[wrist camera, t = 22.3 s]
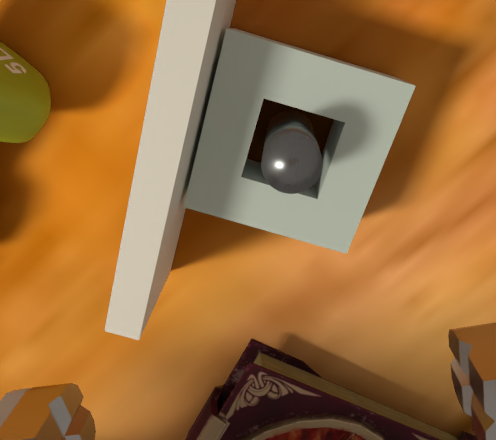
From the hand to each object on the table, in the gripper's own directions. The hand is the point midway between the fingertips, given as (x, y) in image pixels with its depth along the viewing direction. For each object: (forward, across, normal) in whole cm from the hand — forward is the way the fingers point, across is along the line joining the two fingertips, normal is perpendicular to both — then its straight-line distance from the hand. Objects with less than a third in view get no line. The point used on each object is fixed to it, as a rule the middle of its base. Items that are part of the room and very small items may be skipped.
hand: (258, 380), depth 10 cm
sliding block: (+21, -1, -1) cm, 21 cm away
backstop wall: (+21, +4, -4) cm, 22 cm away
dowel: (+21, -1, -1) cm, 21 cm away
